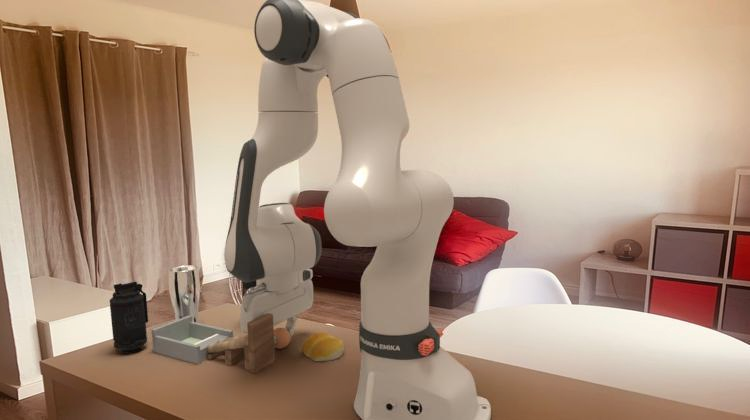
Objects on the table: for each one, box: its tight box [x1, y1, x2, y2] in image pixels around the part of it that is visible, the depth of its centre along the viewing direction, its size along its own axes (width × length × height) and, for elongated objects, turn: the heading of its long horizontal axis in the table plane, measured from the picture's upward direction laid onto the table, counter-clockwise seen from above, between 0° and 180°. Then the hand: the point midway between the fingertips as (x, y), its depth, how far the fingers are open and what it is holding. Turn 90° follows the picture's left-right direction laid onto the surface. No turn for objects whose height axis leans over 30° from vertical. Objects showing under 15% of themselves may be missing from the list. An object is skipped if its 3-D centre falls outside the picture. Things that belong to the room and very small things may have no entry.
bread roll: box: [301, 332, 345, 362], centre depth 104 cm, size 8×9×4 cm
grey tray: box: [151, 315, 234, 365], centre depth 107 cm, size 14×10×5 cm
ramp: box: [206, 313, 276, 374], centre depth 101 cm, size 14×6×10 cm, turn 61°
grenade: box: [109, 281, 149, 354], centre depth 108 cm, size 7×7×15 cm
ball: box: [274, 327, 292, 350], centre depth 107 cm, size 4×4×4 cm
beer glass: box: [168, 264, 201, 324], centre depth 119 cm, size 7×7×15 cm
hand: (280, 340), depth 107 cm, fingers closed on ball, 4 cm apart
